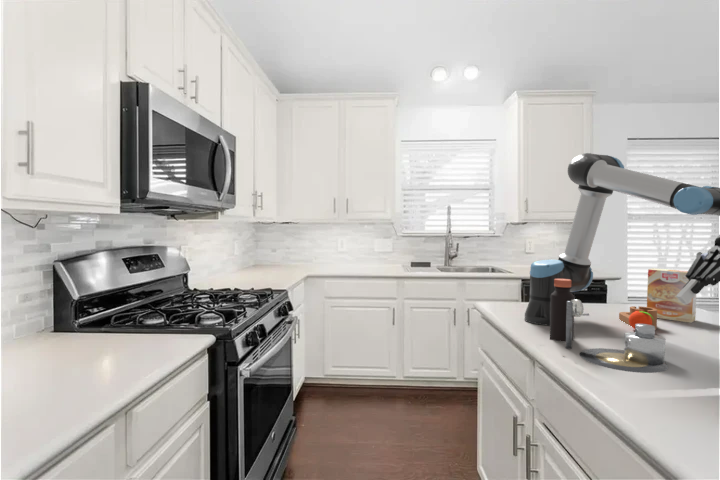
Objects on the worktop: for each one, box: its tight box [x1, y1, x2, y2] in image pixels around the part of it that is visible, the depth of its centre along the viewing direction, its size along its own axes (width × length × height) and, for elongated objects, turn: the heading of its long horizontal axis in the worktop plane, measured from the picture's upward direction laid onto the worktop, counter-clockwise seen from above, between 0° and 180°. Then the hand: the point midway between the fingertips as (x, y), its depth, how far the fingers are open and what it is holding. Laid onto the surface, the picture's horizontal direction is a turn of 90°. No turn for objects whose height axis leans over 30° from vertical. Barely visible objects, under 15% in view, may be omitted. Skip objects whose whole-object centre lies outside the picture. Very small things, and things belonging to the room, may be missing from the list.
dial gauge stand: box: [565, 298, 590, 350], centre depth 122 cm, size 5×8×16 cm, turn 96°
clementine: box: [629, 311, 654, 330], centre depth 147 cm, size 8×7×7 cm
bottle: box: [549, 279, 575, 343], centre depth 132 cm, size 7×7×20 cm
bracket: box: [618, 305, 658, 330], centre depth 158 cm, size 18×8×7 cm, turn 168°
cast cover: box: [623, 324, 666, 364], centre depth 113 cm, size 9×9×9 cm
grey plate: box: [579, 347, 669, 374], centre depth 112 cm, size 20×20×1 cm
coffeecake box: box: [646, 267, 697, 324], centre depth 167 cm, size 15×7×20 cm, turn 43°
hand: (681, 300), depth 113 cm, fingers closed
